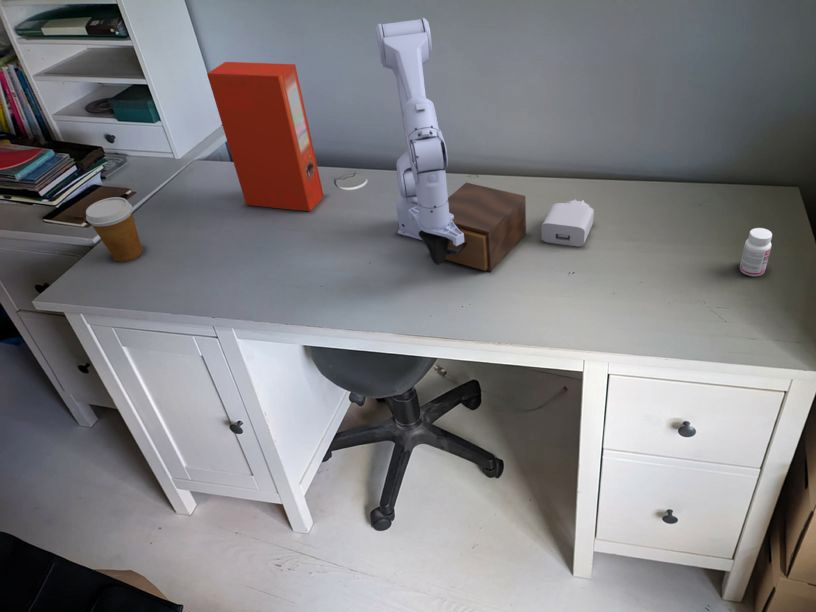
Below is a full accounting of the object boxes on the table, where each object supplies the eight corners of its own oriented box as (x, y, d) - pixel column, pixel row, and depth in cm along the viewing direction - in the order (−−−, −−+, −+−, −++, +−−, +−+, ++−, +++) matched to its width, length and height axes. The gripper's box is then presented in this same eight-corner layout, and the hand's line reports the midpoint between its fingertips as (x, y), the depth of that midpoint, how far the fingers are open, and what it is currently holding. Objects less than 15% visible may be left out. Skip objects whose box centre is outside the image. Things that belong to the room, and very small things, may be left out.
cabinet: (490, 272, 144) (488, 231, 138) (431, 255, 150) (426, 215, 144) (526, 235, 154) (525, 195, 147) (468, 220, 160) (466, 182, 154)
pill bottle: (765, 278, 136) (774, 241, 131) (739, 275, 137) (747, 238, 132) (764, 264, 140) (774, 227, 134) (739, 262, 141) (747, 225, 135)
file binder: (262, 190, 178) (225, 60, 157) (324, 195, 174) (294, 63, 153) (246, 206, 172) (206, 74, 151) (309, 212, 168) (277, 77, 147)
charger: (598, 212, 159) (583, 247, 149) (559, 207, 162) (541, 241, 151) (600, 193, 156) (584, 228, 145) (559, 188, 159) (541, 222, 148)
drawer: (474, 282, 140) (471, 249, 135) (418, 266, 146) (414, 233, 141) (518, 236, 152) (517, 204, 147) (465, 222, 158) (463, 191, 153)
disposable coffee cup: (158, 246, 161) (139, 200, 153) (127, 269, 154) (105, 221, 146) (128, 239, 164) (107, 193, 156) (96, 261, 158) (73, 214, 150)
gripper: (474, 205, 128) (478, 267, 137) (425, 180, 137) (432, 240, 146) (444, 220, 125) (451, 283, 134) (396, 193, 133) (405, 254, 142)
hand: (439, 261), depth 139 cm, fingers closed, pressing on drawer
